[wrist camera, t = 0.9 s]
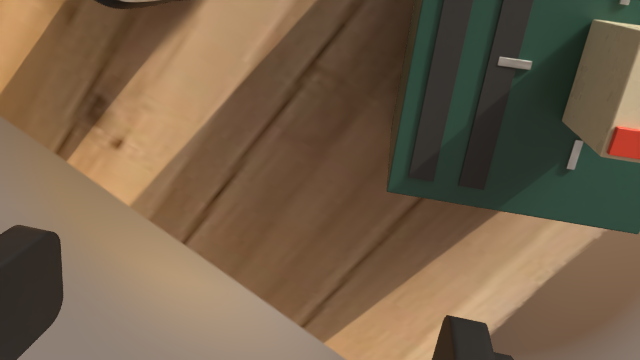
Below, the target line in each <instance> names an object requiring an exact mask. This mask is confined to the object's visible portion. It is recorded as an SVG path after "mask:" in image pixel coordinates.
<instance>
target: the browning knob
mask: <svg viewBox="0 0 640 360" xmlns="http://www.w3.org/2000/svg"><path fill="white" fill-rule="evenodd" d="M562 122H563V123H564V124H566V125H567V126H568V127H569V128H570V129H571V130H572V131H573V132H574V133H575V134H576V135H578V136H579V137H580V138H581V139H582V140H583V141H584V142H585V143H586V144H587V145H588V146H590V147H591V148H592V149H593V150H594V151H595V152H596V153H597V154H598V155H599V156H601V157H605V158H611V159H617V160H624V161H630V162H636V163H640V25H633V24H626V23H619V22H611V21H604V20H596V19H594V20H593V21H592V24H591V27H590V30H589V34H588V37H587V40H586V43H585V47H584V50H583V53H582V56H581V60H580V63H579V66H578V69H577V73H576V76H575V79H574V82H573V85H572V89H571V92H570V95H569V98H568V102H567V105H566V108H565V111H564V115H563V118H562Z"/></svg>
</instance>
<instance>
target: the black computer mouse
mask: <svg viewBox="0 0 640 360" xmlns="http://www.w3.org/2000/svg"><path fill="white" fill-rule="evenodd" d="M95 1H96V2H98V3H100V4H103V5H105V6H108V7H111V8H116V9H131V8H142V7H149V6H155V5H160V4H164V3H168V2H173V1H181V0H95Z"/></svg>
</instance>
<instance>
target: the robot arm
mask: <svg viewBox="0 0 640 360" xmlns="http://www.w3.org/2000/svg"><path fill="white" fill-rule="evenodd" d="M62 301H63V281H62V262H61V244H60V239H59V237H58V235H57V234H56V233H54V232H51V231H46V230H41V229H37V228H32V227H27V226H22V225H16V226H13V227H11V228H10V229H8V230H7V231H5V232H4V233H2V234H0V360H17V359H18V358H19V357H20V356H21V355H22V354H23V353H24V352H25V351H26V350H27V349H28V348H29V347H30V346H31V345H32V344H33V343H34V342H35V341H36V340H37V339H38V338H39V337H40V336H41V335H42V334H43V333H44V332H45V331H46V330H47V329H48V328H49V327H50V326H51V324H52V323H53V322H54V321H55V319H56V317H57V315H58V313H59V311H60V309H61V305H62ZM432 360H514V359H513V358H512V357H511V356H509V355H504V354H499V353H495V352H493V348H492V344H491V339H490V335H489V331H488V327H487V325H486V324H485V323H482V322H477V321H473V320H468V319H463V318H458V317H454V316H449V315H447V316H446V317H445V318H444V320H443V323H442V326H441V330H440V333H439V337H438V340H437V344H436V347H435V351H434V354H433V358H432Z"/></svg>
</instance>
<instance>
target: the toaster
mask: <svg viewBox="0 0 640 360" xmlns="http://www.w3.org/2000/svg"><path fill="white" fill-rule="evenodd" d="M443 2H444V0H415V1H414V7H413V12H412V18H411V23H410V29H409V34H408V40H407V45H406V51H405V56H404V62H403V68H402V73H401V79H400V84H399V90H398V95H397V101H396V106H395V112H394V117H393V123H392V128H391V140H390V153H389V167H388V180H387V192H391V193H397V194H403V195H409V196H415V197H421V198H427V199H433V200H439V201H445V202H451V203H456V204H462V205H468V206H474V207H480V208H486V209H492V210H498V211H504V212H510V213H515V214H521V215H527V216H533V217H539V218H545V219H551V220H557V221H563V222H569V223H574V224H580V225H586V226H592V227H598V228H604V229H610V230H616V231H622V232H628V233H634V234H638V233H639V232H640V163H636V162H630V161H624V160H617V159H611V158H605V157H601V156H599V155H598V154H597V153H596V152H595V151H594V150H593V149H592V148H591V147H590V146H588V145H587V144H586V143H585V142H584V141H583V140H582V139H581V138H580V137H579V136H578V135H576V134H575V133H574V132H573V131H572V130H571V129H570V128H569V127H568V126H567V125H566V124H564V123H563V122H562V118H563V115H564V111H565V108H566V105H567V102H568V98H569V95H570V92H571V89H572V85H573V82H574V79H575V76H576V73H577V69H578V66H579V63H580V60H581V56H582V53H583V50H584V47H585V43H586V40H587V37H588V34H589V30H590V27H591V24H592V21H593V20H594V19H596V20H604V21H611V22H619V23H626V24H633V25H640V0H534V1H533V5H532V9H531V13H530V16H529V20H528V24H527V28H526V32H525V35H524V39H523V43H522V47H521V51H520V54H519V58H518V59H511V58H504V57H499V61H498V65H499V66H506V67H513V68H516V70H515V74H514V77H513V81H512V85H511V89H510V93H509V96H508V100H507V104H506V108H505V112H504V115H503V119H502V123H501V127H500V131H499V134H498V138H497V142H496V146H495V150H494V153H493V157H492V161H491V165H490V169H489V172H488V176H487V180H486V184H485V188H484V190H481V189H475V188H469V187H463V186H459V185H458V184H459V180H460V176H461V172H462V168H463V164H464V159H465V155H466V151H467V147H468V143H469V139H470V135H471V130H472V126H473V122H474V118H475V114H476V110H477V106H478V102H479V97H480V93H481V89H482V85H483V81H484V77H485V73H486V68H487V64H488V60H489V56H490V52H491V48H492V44H493V39H494V35H495V31H496V27H497V23H498V19H499V15H500V11H501V6H502V2H503V0H473V5H472V9H471V14H470V18H469V23H468V27H467V32H466V36H465V41H464V45H463V50H462V54H461V59H460V63H459V68H458V72H457V77H456V81H455V86H454V90H453V95H452V100H451V104H450V109H449V113H448V118H447V122H446V127H445V131H444V136H443V140H442V145H441V149H440V154H439V158H438V163H437V167H436V172H435V176H434V181H427V180H421V179H415V178H409V177H408V176H409V171H410V166H411V161H412V156H413V151H414V146H415V141H416V136H417V131H418V126H419V121H420V116H421V111H422V107H423V102H424V97H425V92H426V87H427V82H428V77H429V72H430V67H431V62H432V57H433V52H434V47H435V42H436V37H437V32H438V27H439V22H440V17H441V12H442V7H443Z"/></svg>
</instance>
